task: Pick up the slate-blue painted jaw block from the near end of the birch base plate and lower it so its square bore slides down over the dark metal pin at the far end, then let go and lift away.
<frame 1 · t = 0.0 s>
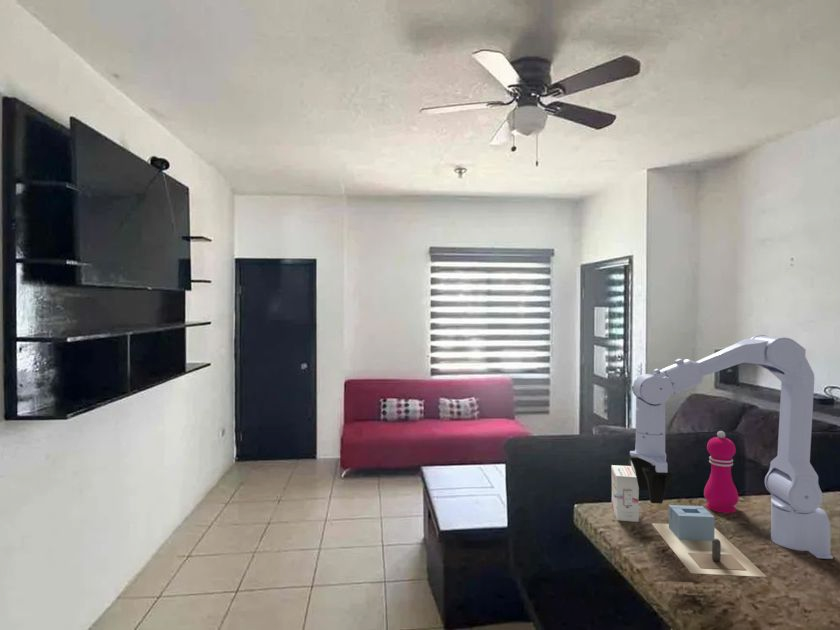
hand: (650, 495, 111), 10 cm above the countertop, tool pointing down, fingers open, 7 cm apart
jaw block: (690, 534, 112), point 1 cm above the countertop, touching base plate
pepper mill: (720, 514, 126), on the countertop
base plate: (702, 554, 106), on the countertop
ink cartridge box: (624, 520, 123), on the countertop
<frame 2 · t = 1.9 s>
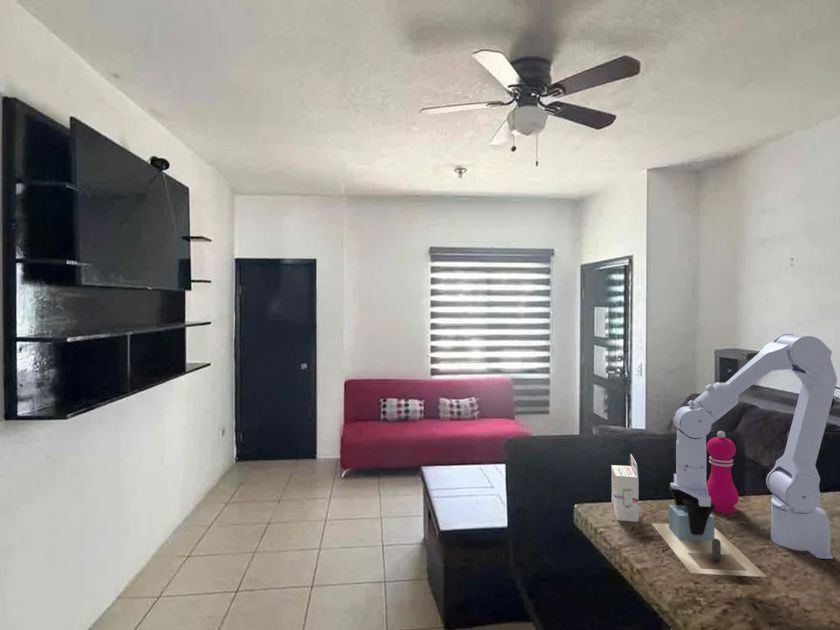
hand: (690, 527, 112), 3 cm above the countertop, tool pointing down, fingers closed on jaw block, 6 cm apart
jaw block: (690, 534, 112), point 1 cm above the countertop, touching base plate, gripper
everything else where it was.
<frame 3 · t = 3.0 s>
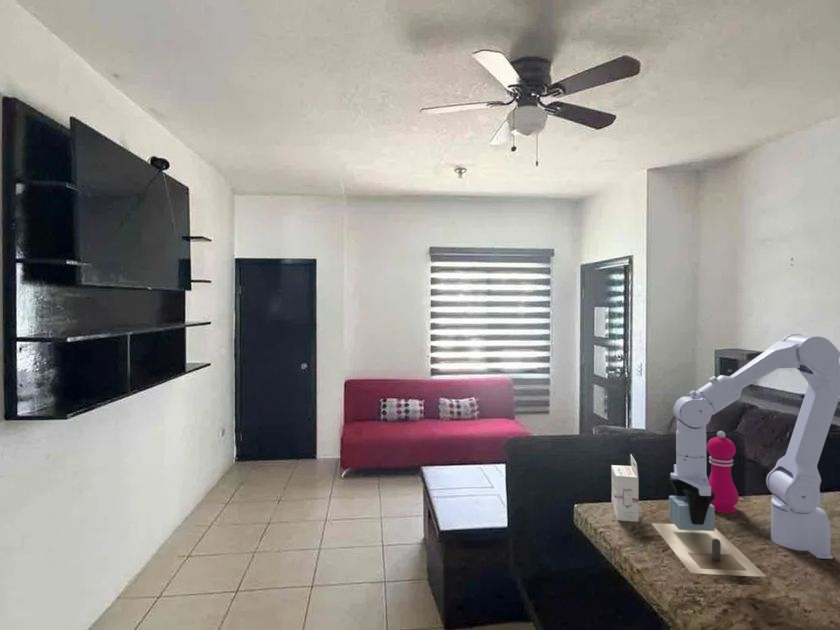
hand: (691, 517, 112), 5 cm above the countertop, tool pointing down, fingers closed on jaw block, 6 cm apart
jaw block: (691, 524, 112), point 4 cm above the countertop, touching gripper
everything else where it was.
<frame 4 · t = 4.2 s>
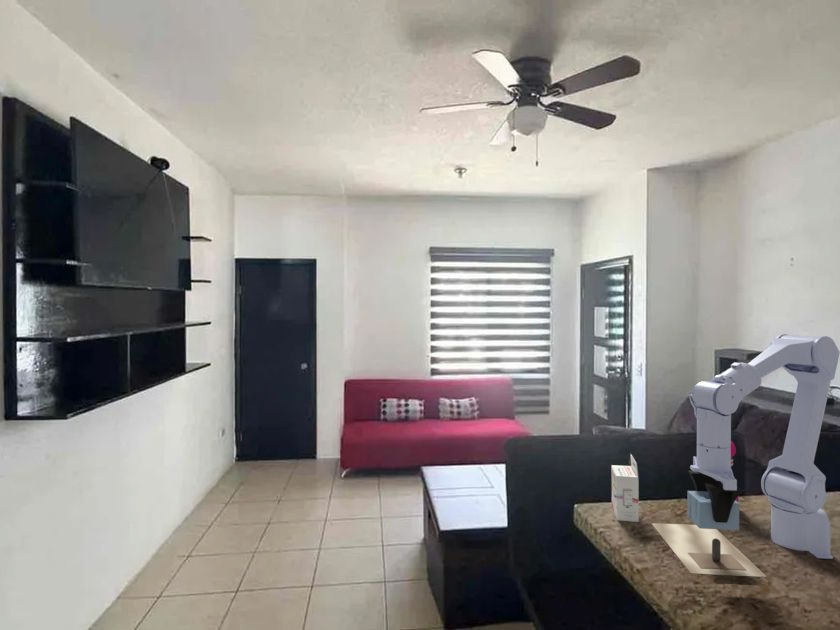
hand: (713, 514, 101), 10 cm above the countertop, tool pointing down, fingers closed on jaw block, 6 cm apart
jaw block: (712, 522, 101), point 8 cm above the countertop, touching gripper
everything else where it was.
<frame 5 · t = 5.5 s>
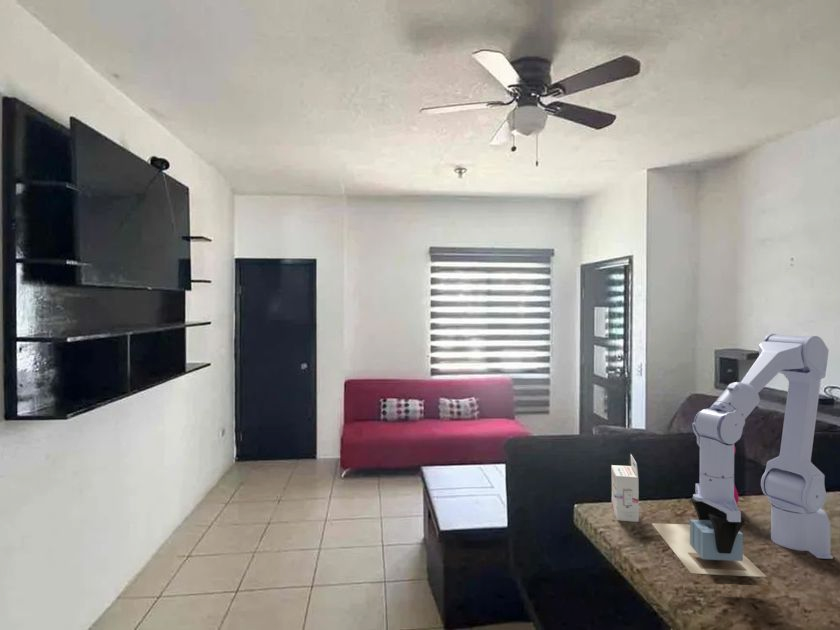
hand: (716, 544, 100), 5 cm above the countertop, tool pointing down, fingers closed on jaw block, 6 cm apart
jaw block: (715, 552, 100), point 3 cm above the countertop, touching gripper
everything else where it was.
when the fingers open (4 cm above the countertop, at t = 6.7 s): jaw block drops 1 cm, resting on base plate.
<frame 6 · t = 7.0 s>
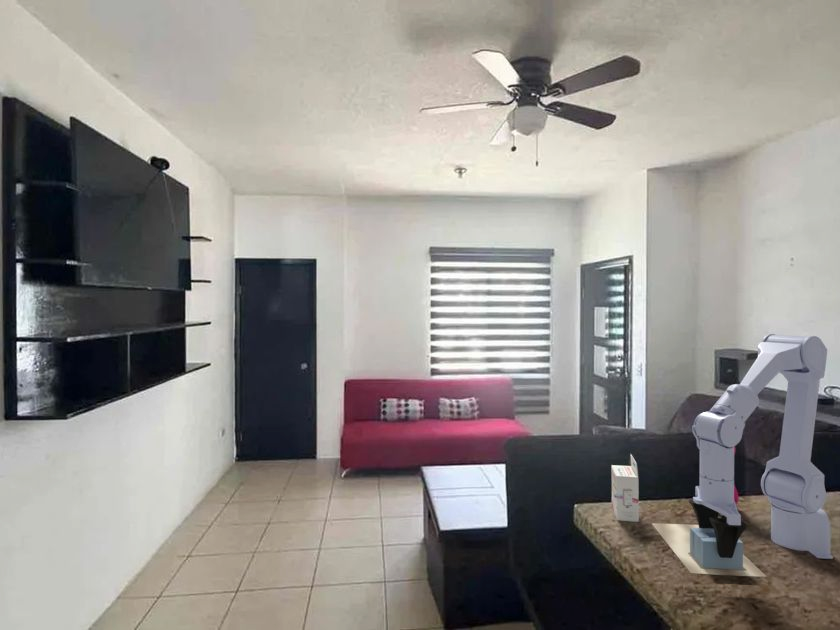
hand: (716, 547, 100), 4 cm above the countertop, tool pointing down, fingers open, 7 cm apart
jaw block: (715, 561, 100), point 2 cm above the countertop, touching base plate
everything else where it was.
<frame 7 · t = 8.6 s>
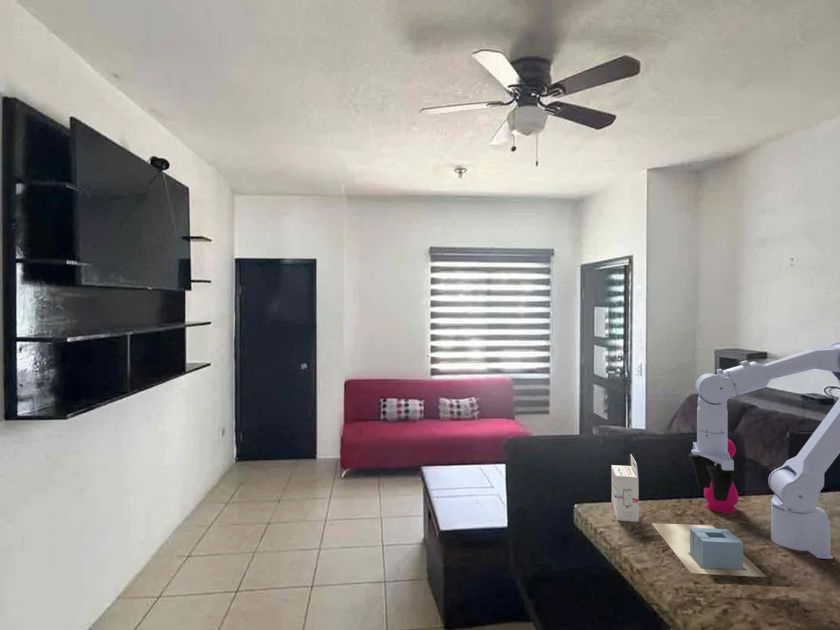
hand: (711, 493, 112), 10 cm above the countertop, tool pointing down, fingers open, 7 cm apart
nothing on the countertop moved.
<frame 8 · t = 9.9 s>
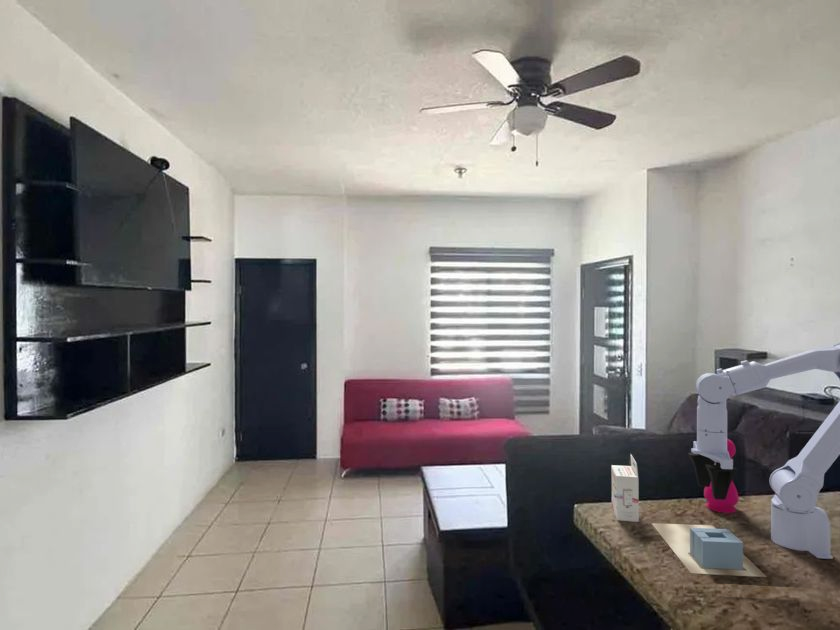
hand: (711, 492, 113), 10 cm above the countertop, tool pointing down, fingers open, 7 cm apart
nothing on the countertop moved.
at the end: jaw block 0.1 cm from the target spot on the base plate, point 1.6 cm above the base plate's base; jaw block tilted 0°; the gripper is holding nothing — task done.
